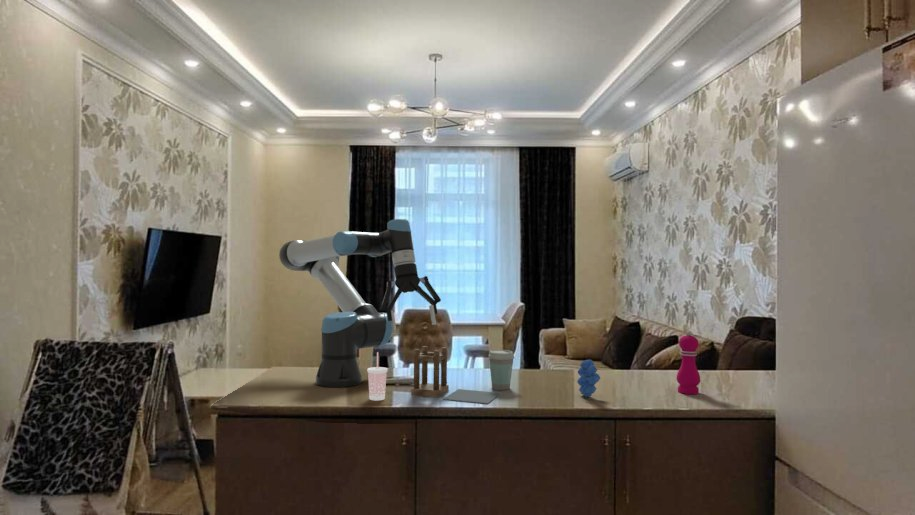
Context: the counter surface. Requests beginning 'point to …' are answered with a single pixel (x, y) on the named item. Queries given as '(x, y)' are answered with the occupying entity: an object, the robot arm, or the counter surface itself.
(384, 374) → the beverage cup
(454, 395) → the mat
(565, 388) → the counter surface
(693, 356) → the pepper mill
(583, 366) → the grapes
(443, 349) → the stool
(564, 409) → the counter surface
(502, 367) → the coffee cup
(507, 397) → the counter surface
